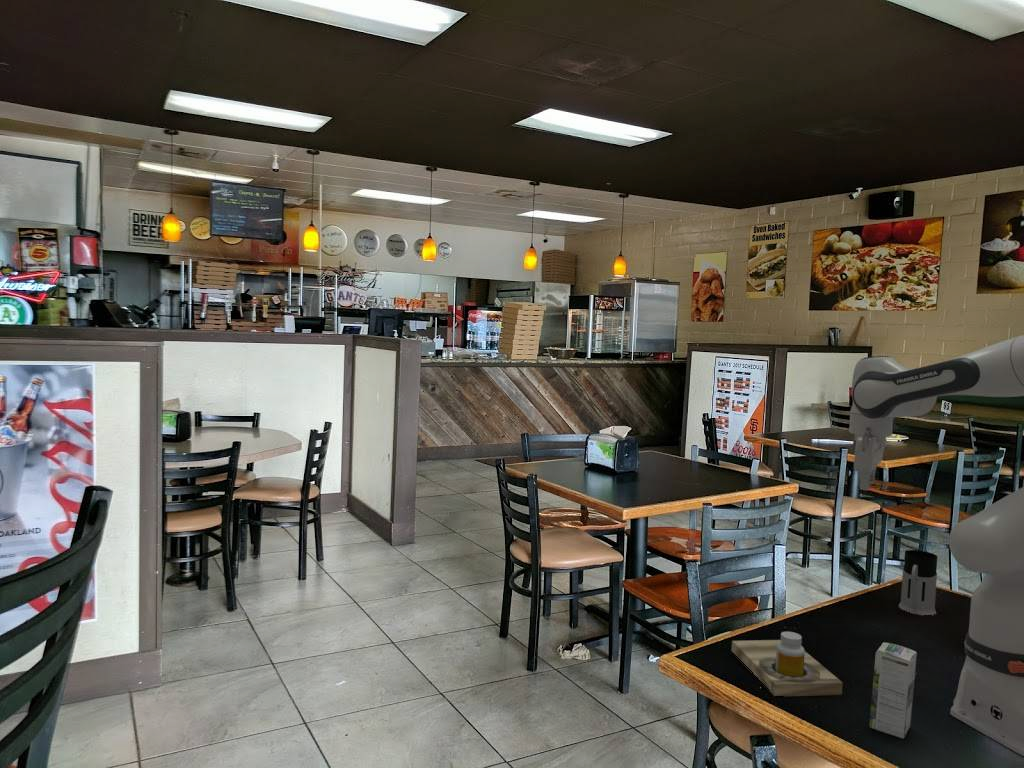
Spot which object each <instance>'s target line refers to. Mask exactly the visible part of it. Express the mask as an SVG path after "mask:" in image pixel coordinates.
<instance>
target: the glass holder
mask: <svg viewBox="0 0 1024 768" xmlns="http://www.w3.org/2000/svg"><path fill="white" fill-rule="evenodd" d="M903 560H904V562H903V567H902V576H901V577H902V578H901V579H902V580H901V592H900V593H901V595H900V602H899V604H898V608H899V609H900V610H902V611H904V610H905V611H904V612H906V611H907V613H909V612H910V614H914V615H917V614H918V615H917V616H924V615H932V616H935V615H937V611H936V608H935V607H936V593H937V592H936V591H937V580H938V579H937V577H938V573H937V565H938V555H937V554H935V553H932V552H931V551H930V552H929V551H925V550H920V549H907V550H904V559H903ZM934 614H935V615H934Z"/></svg>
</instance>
